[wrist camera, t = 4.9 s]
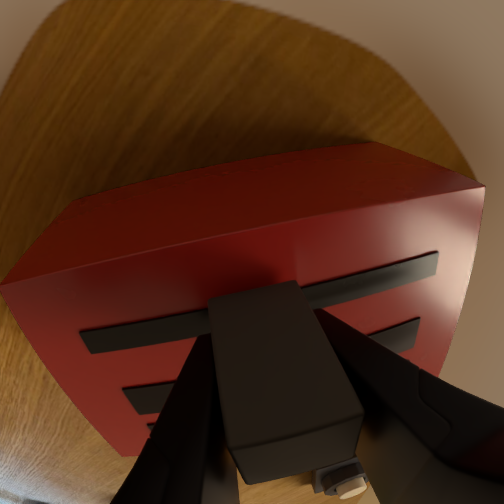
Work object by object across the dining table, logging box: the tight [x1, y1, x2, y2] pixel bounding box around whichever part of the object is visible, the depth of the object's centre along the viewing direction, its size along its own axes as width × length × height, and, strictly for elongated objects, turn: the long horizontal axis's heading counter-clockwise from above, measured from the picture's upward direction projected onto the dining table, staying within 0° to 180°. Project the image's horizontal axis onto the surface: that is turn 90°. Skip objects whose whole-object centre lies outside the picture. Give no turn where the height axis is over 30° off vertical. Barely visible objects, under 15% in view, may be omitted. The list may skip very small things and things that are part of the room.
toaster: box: [0, 142, 486, 457], centre depth 14 cm, size 16×10×8 cm, turn 98°
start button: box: [336, 477, 367, 499], centre depth 30 cm, size 4×4×2 cm
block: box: [312, 453, 369, 496], centre depth 32 cm, size 8×10×4 cm
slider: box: [208, 280, 365, 485], centre depth 7 cm, size 2×2×4 cm
